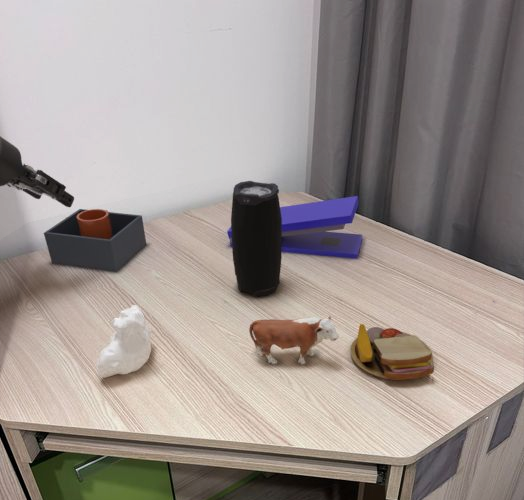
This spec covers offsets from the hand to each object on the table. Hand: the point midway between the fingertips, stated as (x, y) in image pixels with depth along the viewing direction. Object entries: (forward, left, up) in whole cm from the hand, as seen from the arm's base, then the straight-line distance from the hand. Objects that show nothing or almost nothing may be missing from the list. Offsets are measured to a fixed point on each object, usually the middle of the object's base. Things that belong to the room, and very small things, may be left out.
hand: (55, 198), depth 102 cm
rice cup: (+2, +7, -14) cm, 16 cm away
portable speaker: (+39, +2, -15) cm, 42 cm away
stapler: (+41, +23, -15) cm, 50 cm away
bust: (+27, -26, -15) cm, 40 cm away
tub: (+2, +7, -15) cm, 17 cm away
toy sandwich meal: (+66, -14, -15) cm, 69 cm away
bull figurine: (+51, -18, -15) cm, 56 cm away
